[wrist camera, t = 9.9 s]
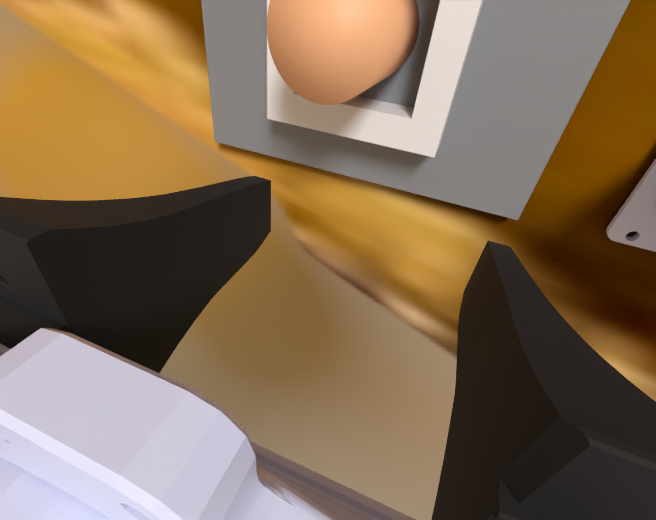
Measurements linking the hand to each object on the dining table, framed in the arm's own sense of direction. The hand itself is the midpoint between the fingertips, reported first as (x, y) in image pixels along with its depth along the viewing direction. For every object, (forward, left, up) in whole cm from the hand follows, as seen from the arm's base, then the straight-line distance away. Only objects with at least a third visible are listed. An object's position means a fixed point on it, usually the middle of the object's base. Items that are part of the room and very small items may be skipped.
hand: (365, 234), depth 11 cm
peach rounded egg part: (+3, -5, -8) cm, 10 cm away
